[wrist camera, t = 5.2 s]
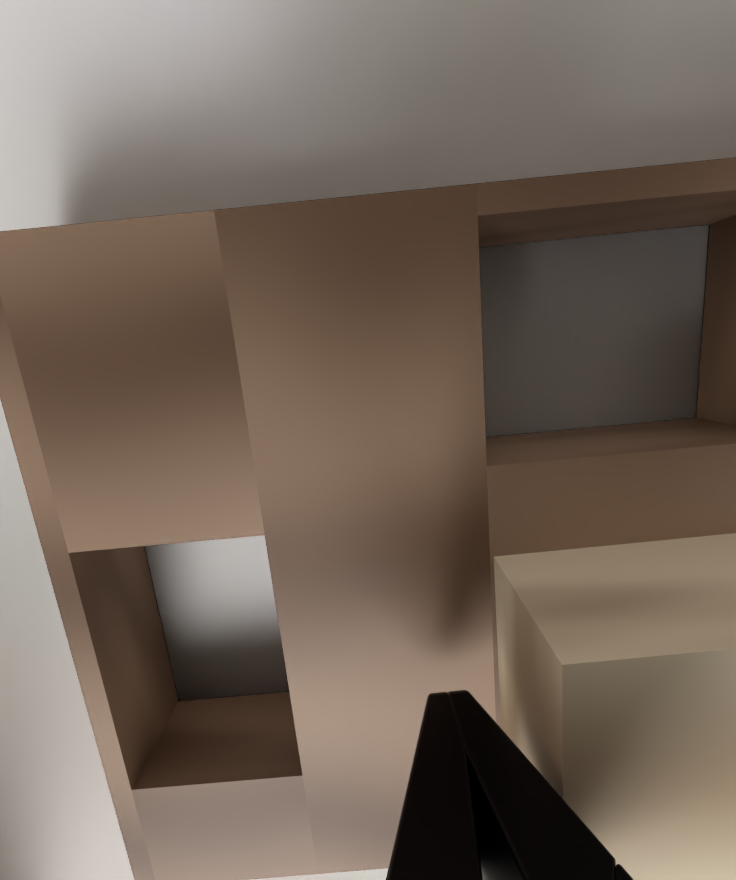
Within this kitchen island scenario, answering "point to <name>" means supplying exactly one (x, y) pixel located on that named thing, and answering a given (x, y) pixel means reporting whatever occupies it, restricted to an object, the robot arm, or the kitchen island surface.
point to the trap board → (322, 481)
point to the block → (629, 694)
